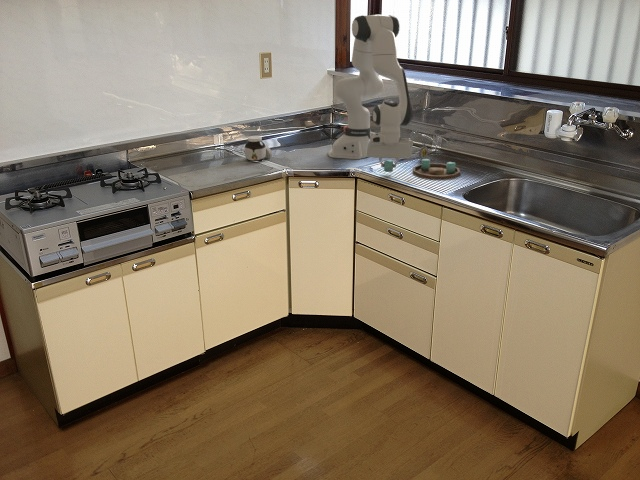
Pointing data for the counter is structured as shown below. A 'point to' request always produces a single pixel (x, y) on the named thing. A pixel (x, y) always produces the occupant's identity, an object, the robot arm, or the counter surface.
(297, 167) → the counter surface
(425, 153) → the pocket watch
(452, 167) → the bead
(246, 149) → the spread jar
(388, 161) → the bead
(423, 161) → the bead
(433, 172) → the ring tray
